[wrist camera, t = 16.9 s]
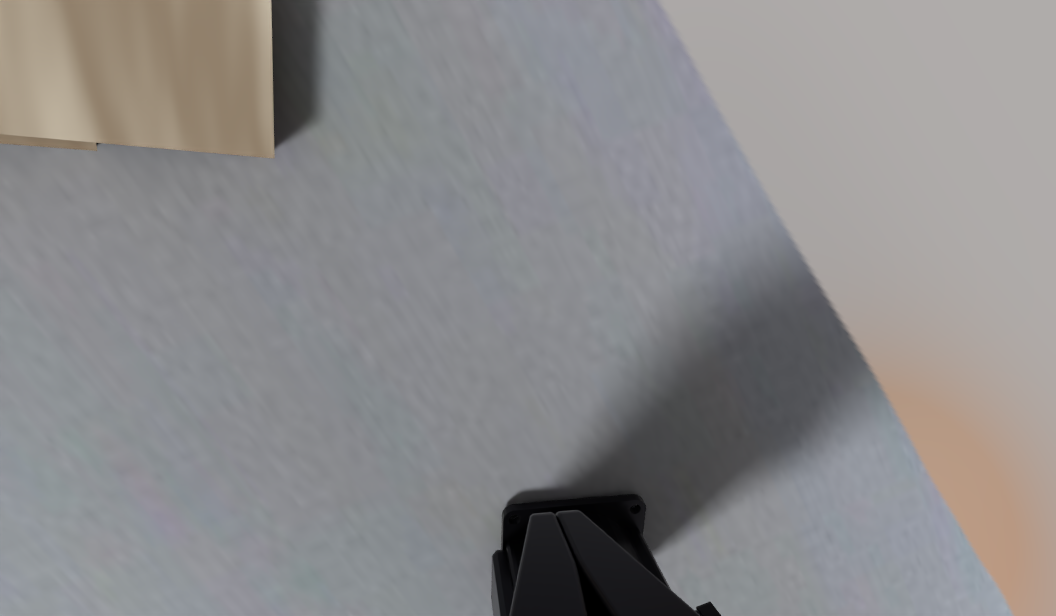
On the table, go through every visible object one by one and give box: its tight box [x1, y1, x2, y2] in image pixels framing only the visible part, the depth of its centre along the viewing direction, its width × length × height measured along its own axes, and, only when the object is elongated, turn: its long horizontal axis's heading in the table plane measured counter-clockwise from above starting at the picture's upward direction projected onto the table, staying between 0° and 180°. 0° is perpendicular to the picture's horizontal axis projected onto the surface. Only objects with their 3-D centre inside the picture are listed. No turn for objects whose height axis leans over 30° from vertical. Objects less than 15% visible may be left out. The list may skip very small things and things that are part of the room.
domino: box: [0, 0, 274, 158], centre depth 13 cm, size 2×5×9 cm
